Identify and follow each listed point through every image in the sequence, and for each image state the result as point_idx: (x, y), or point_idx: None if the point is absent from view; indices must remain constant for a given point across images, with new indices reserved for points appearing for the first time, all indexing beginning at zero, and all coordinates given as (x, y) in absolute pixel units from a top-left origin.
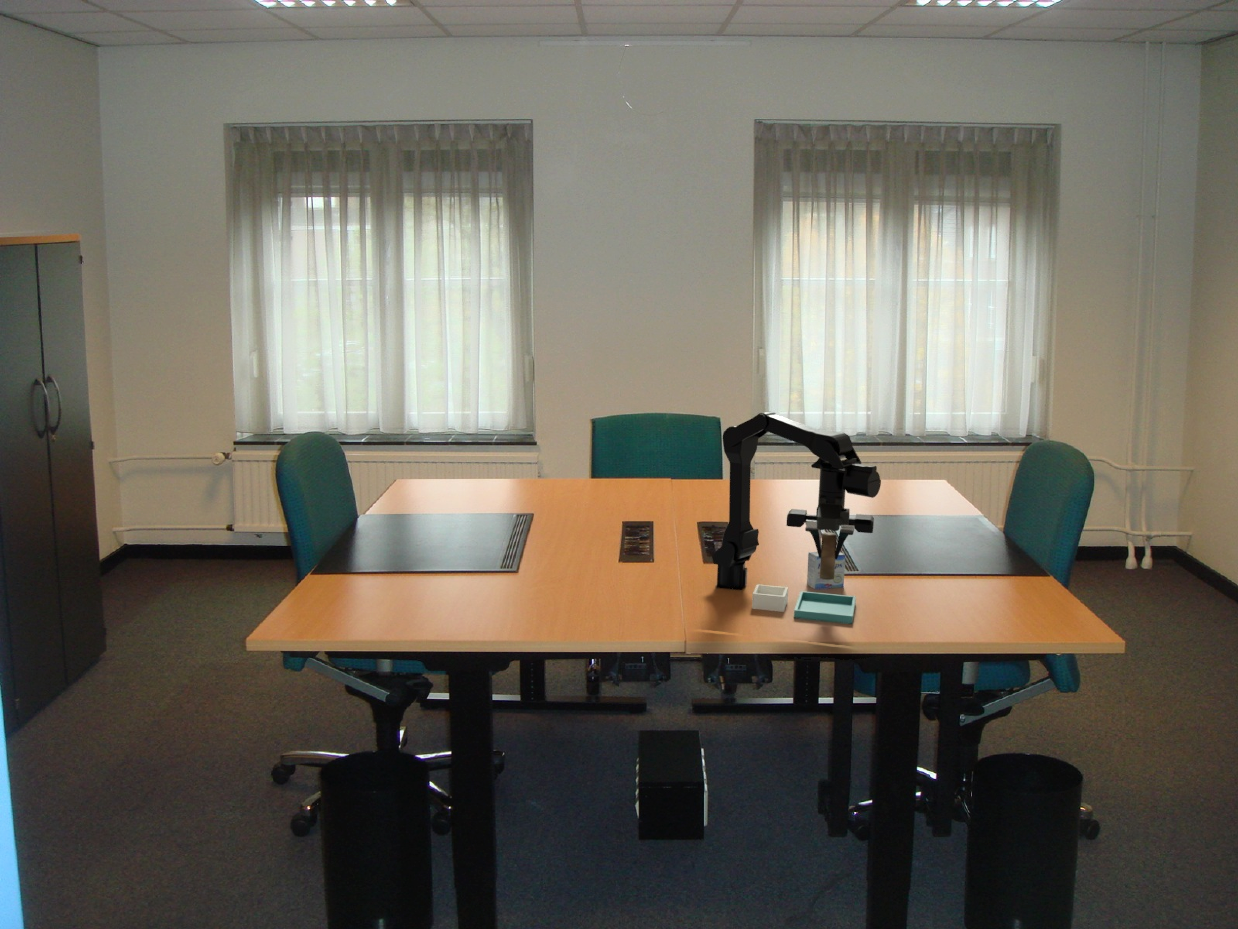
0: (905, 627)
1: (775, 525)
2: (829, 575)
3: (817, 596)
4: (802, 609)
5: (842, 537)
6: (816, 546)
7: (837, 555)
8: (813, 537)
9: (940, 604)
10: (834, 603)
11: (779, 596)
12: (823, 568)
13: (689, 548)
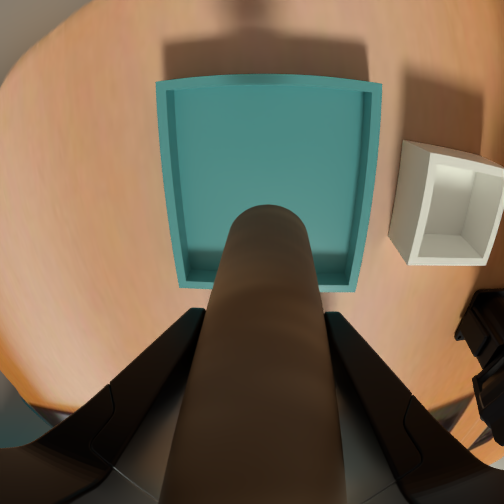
0: (46, 148)
1: None
2: (250, 218)
3: None
4: (348, 166)
5: (49, 466)
6: (393, 377)
7: (178, 325)
8: (463, 452)
9: (47, 316)
10: None
11: (446, 155)
12: (293, 240)
13: (467, 422)
